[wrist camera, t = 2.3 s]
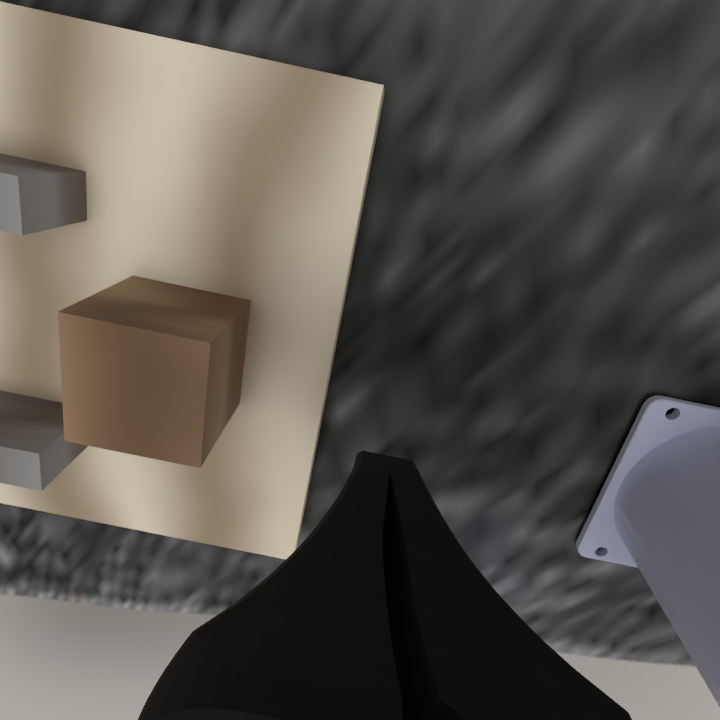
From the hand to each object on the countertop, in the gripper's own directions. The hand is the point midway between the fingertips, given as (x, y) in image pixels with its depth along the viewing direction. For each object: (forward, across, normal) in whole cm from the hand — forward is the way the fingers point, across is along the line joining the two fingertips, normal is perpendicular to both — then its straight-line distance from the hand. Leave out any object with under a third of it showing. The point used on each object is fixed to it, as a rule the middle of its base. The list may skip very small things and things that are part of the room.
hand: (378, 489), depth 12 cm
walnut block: (+6, +7, 0) cm, 9 cm away
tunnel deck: (+8, +15, 0) cm, 17 cm away
